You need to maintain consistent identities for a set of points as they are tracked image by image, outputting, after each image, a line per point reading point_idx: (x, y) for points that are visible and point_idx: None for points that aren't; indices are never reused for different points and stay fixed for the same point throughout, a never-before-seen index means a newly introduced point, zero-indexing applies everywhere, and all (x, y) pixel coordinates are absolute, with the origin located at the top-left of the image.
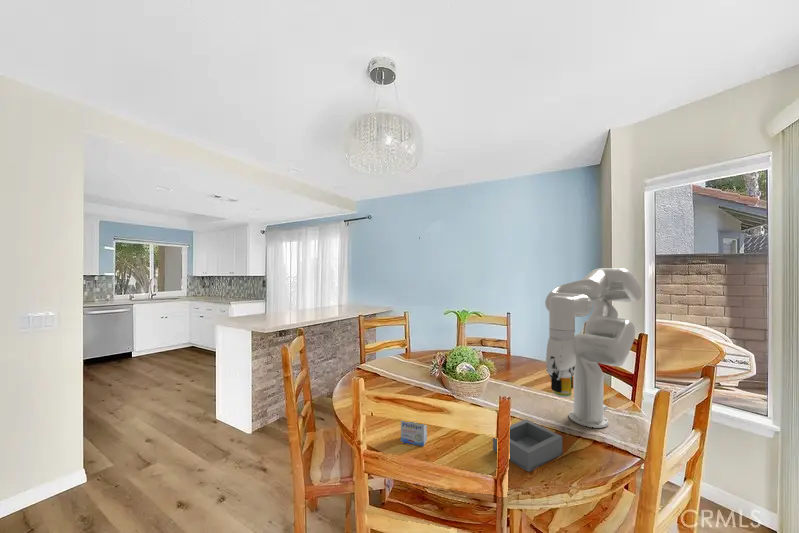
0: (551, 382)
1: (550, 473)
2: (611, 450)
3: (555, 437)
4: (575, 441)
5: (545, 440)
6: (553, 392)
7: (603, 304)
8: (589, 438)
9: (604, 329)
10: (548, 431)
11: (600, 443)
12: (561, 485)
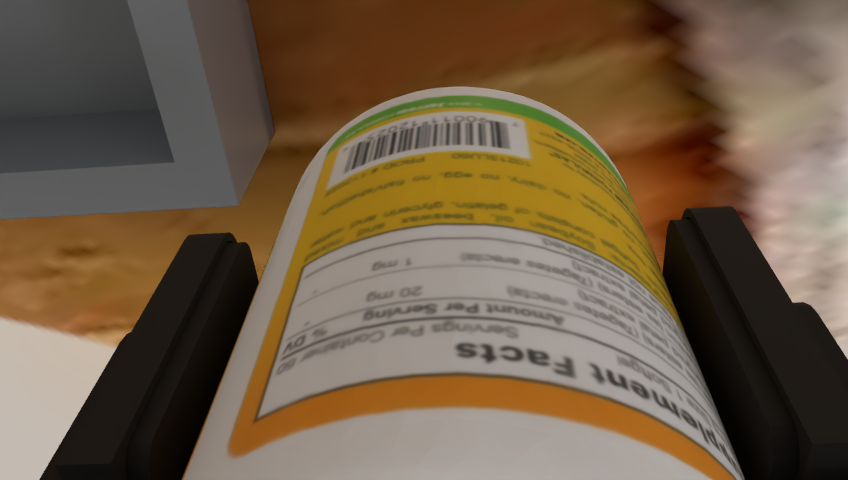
0: (126, 347)
1: (22, 228)
2: (660, 266)
3: (159, 188)
4: (553, 62)
5: (26, 179)
6: (311, 163)
7: None
8: (713, 91)
9: None
10: (174, 83)
11: (701, 180)
12: (17, 317)
